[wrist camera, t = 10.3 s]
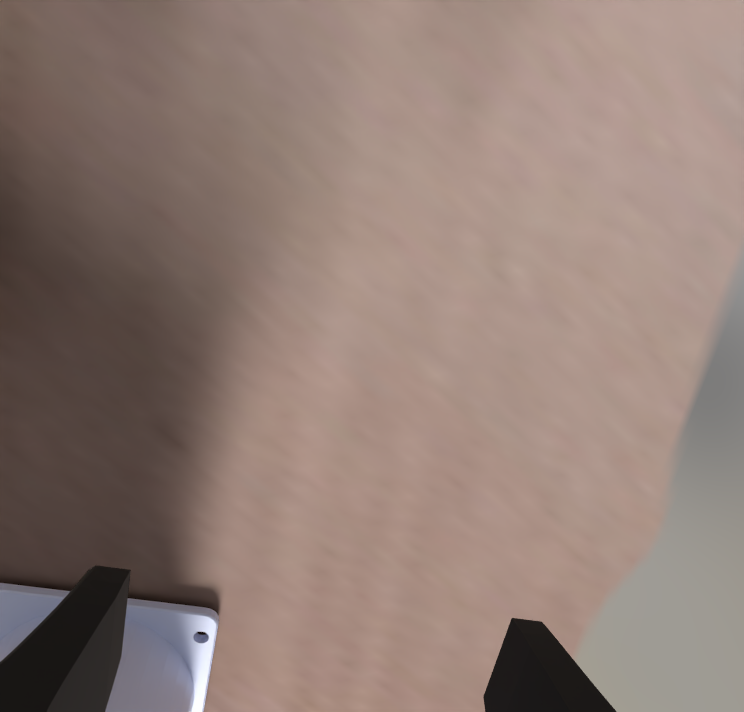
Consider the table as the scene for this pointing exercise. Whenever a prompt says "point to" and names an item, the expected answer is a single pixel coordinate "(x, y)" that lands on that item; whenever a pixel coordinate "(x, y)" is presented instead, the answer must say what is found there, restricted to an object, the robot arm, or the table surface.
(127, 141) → the table surface
